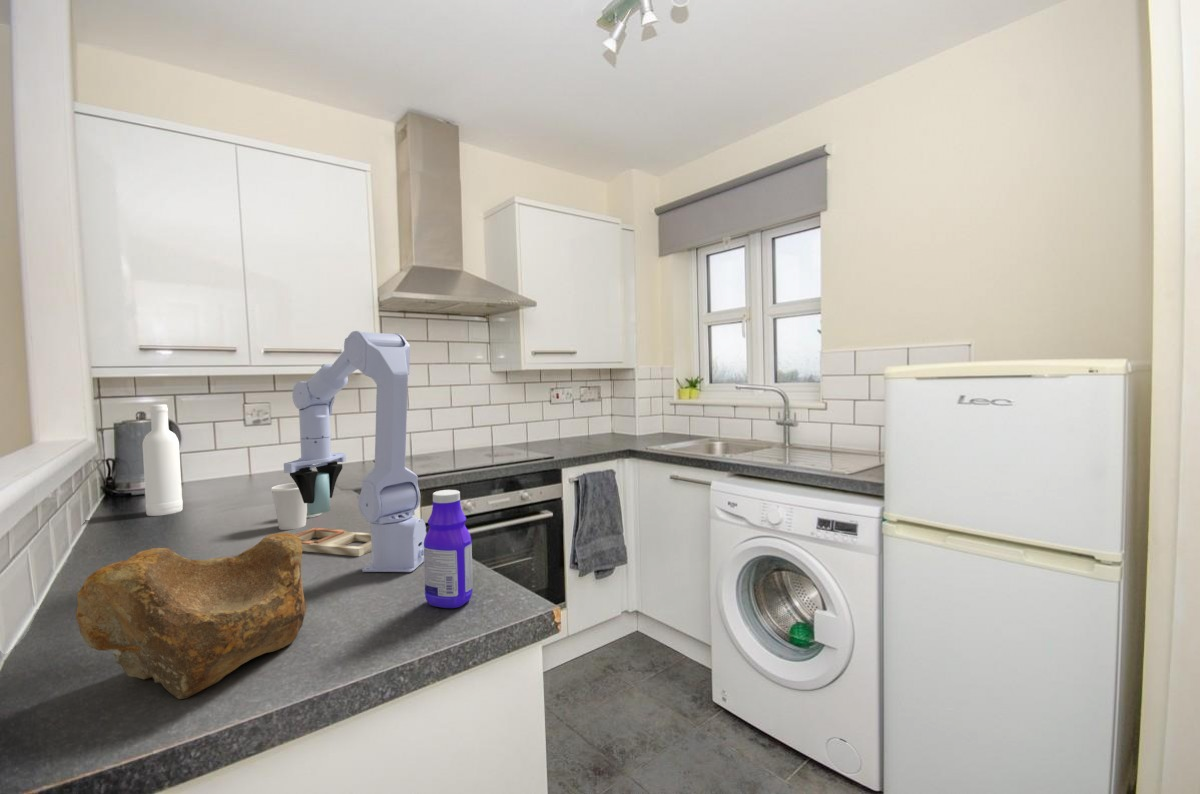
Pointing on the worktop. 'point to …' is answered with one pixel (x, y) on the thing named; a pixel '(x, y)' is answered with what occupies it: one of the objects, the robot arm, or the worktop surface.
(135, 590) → the rough brown rock
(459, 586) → the bottle
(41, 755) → the worktop surface
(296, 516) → the dixie cup
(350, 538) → the wooden slot frame
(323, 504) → the peg
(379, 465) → the robot arm
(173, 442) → the bottle
